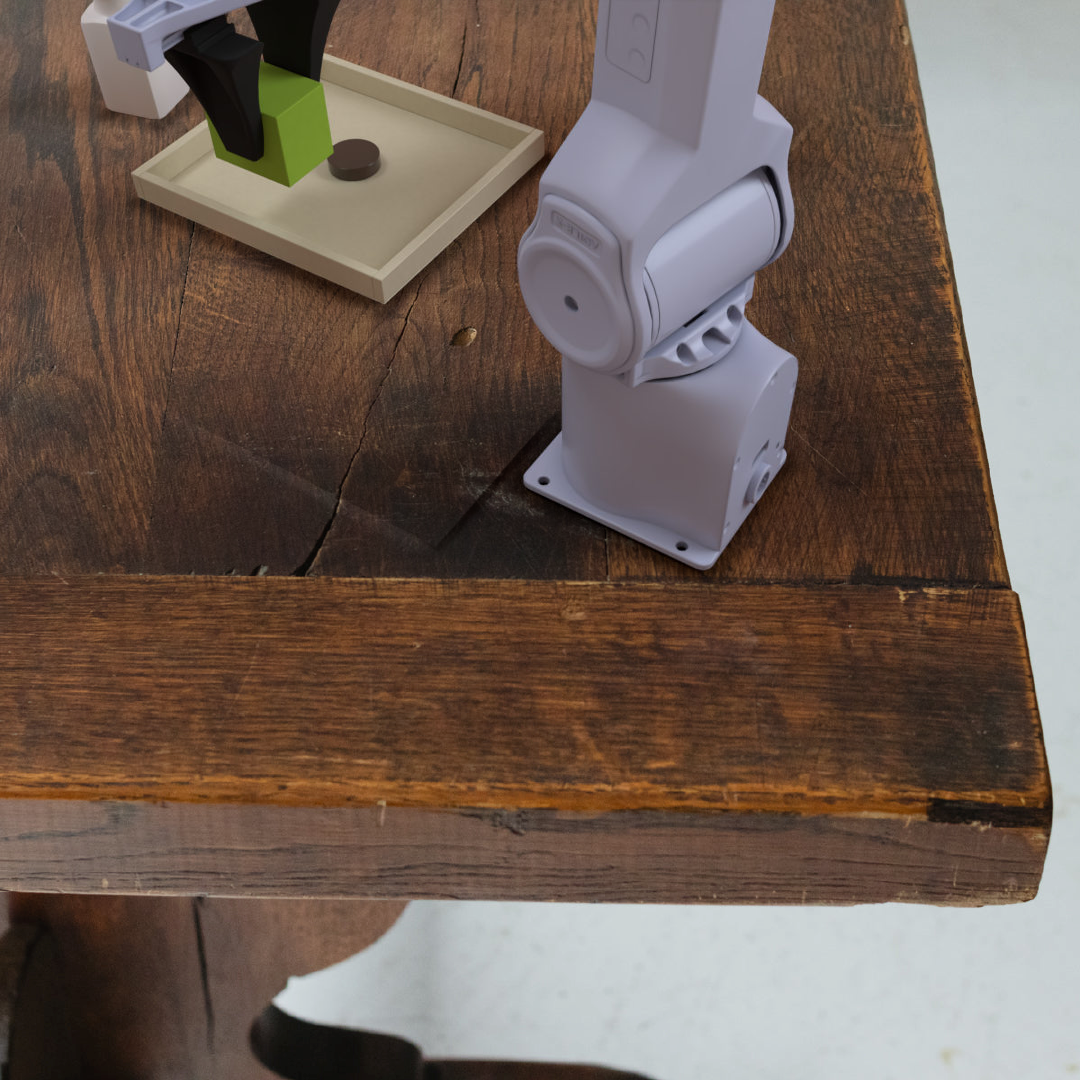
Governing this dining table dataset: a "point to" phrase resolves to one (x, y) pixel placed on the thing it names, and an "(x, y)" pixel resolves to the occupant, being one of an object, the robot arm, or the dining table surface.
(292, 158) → the sponge
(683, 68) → the robot arm
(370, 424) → the dining table surface
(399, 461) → the dining table surface
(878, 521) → the dining table surface
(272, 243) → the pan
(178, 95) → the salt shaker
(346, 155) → the dark brown disc
